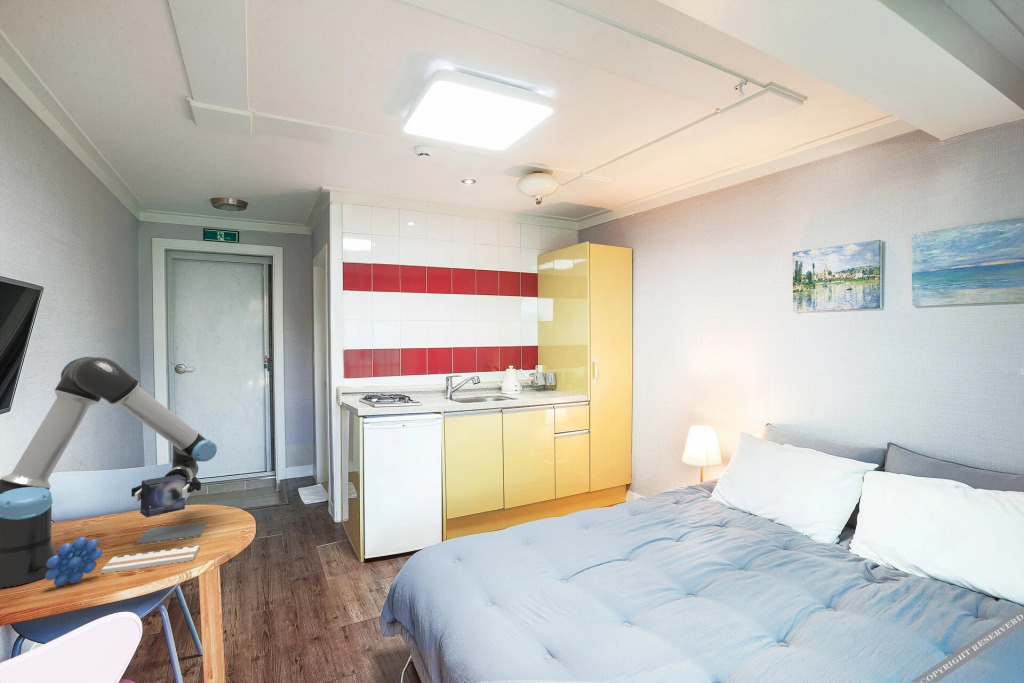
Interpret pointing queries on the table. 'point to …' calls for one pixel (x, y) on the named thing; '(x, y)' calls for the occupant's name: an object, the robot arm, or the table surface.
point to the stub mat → (172, 532)
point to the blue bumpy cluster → (73, 561)
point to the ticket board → (150, 559)
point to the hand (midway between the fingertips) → (160, 495)
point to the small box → (162, 495)
